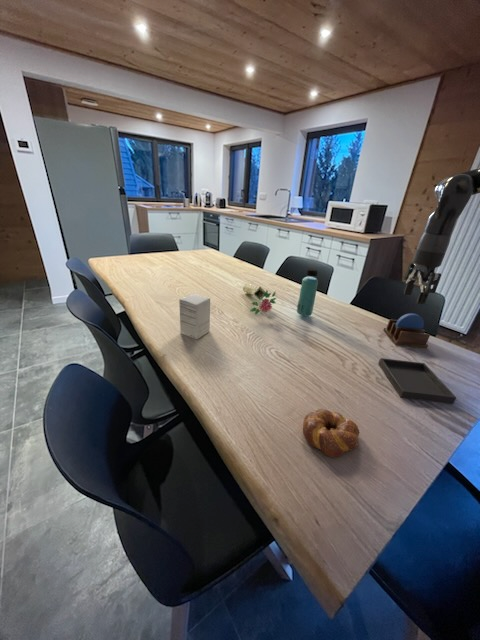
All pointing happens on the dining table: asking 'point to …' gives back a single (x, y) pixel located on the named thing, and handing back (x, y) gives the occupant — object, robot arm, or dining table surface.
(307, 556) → the dining table surface
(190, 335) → the white packaging box
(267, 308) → the flower vase
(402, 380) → the tray
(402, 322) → the disc
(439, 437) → the dining table surface
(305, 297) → the beverage bottle
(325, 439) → the braided bread ring
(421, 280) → the robot arm
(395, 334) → the rack
